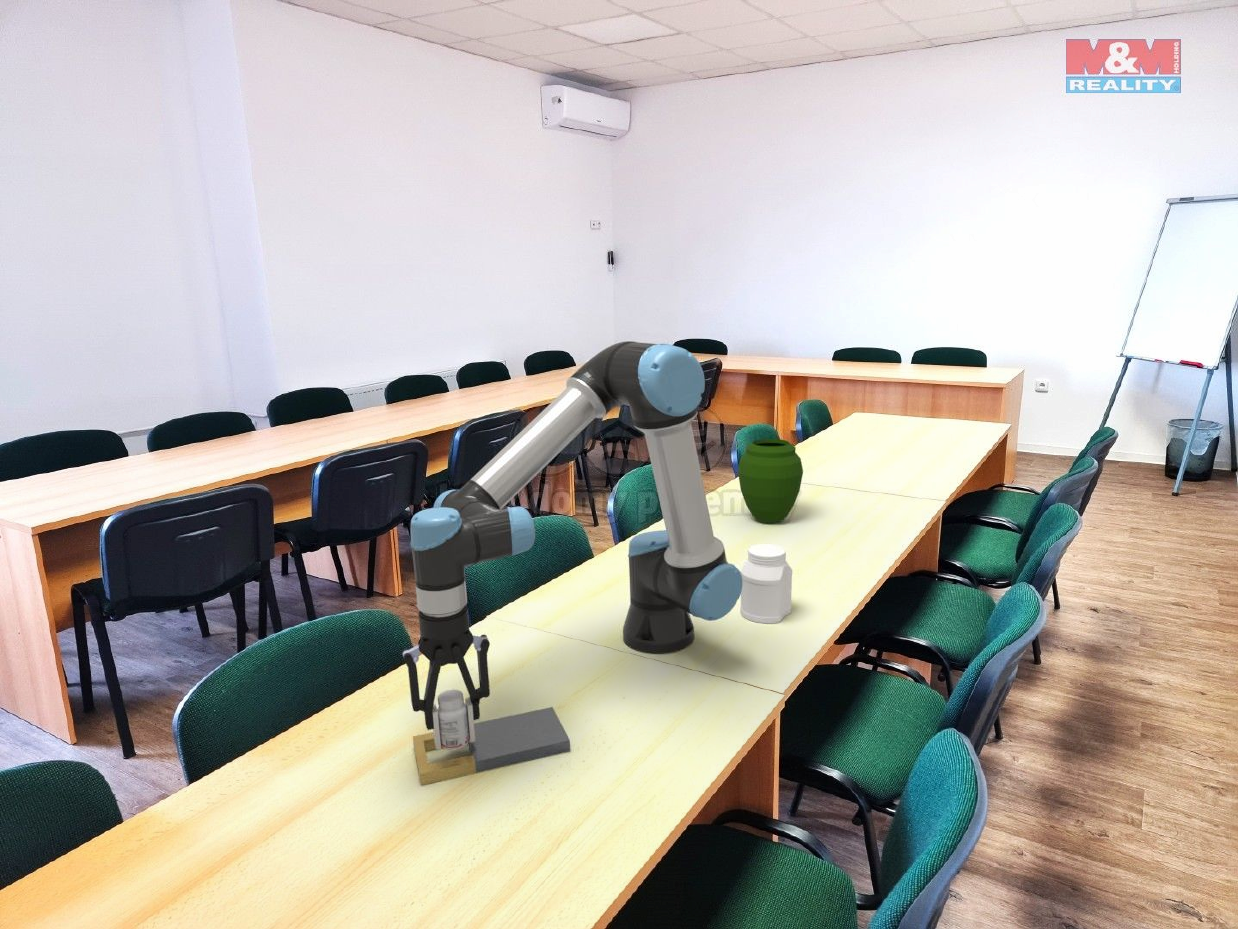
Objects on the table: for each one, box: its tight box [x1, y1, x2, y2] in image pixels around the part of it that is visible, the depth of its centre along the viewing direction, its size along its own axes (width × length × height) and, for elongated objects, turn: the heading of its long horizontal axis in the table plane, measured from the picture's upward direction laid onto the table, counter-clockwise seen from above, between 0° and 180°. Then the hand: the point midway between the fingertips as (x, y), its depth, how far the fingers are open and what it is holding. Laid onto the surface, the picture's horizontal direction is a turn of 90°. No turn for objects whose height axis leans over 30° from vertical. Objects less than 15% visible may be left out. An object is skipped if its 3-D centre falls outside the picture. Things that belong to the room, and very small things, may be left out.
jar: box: [739, 543, 793, 625], centre depth 178 cm, size 12×10×15 cm
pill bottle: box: [437, 689, 470, 751], centre depth 128 cm, size 5×5×8 cm
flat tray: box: [412, 706, 571, 786], centre depth 132 cm, size 24×11×2 cm, turn 110°
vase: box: [737, 438, 804, 524], centre depth 242 cm, size 20×20×24 cm
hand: (454, 740), depth 129 cm, fingers closed on pill bottle, 5 cm apart
